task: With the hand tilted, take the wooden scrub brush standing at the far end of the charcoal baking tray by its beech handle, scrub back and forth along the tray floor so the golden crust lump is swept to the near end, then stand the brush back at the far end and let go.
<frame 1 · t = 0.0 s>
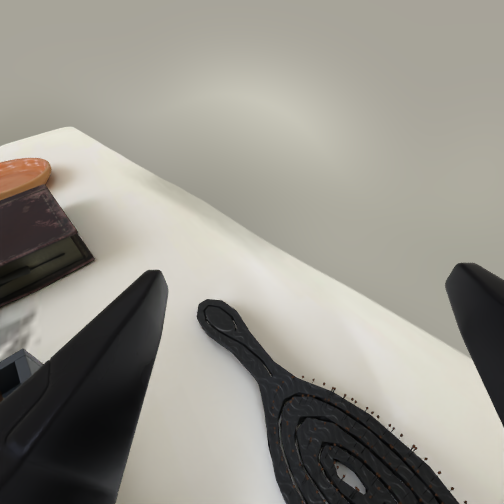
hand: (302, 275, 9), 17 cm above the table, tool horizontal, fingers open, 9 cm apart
hairbrush: (288, 409, 21), on the table
saucer: (10, 191, 51), on the table
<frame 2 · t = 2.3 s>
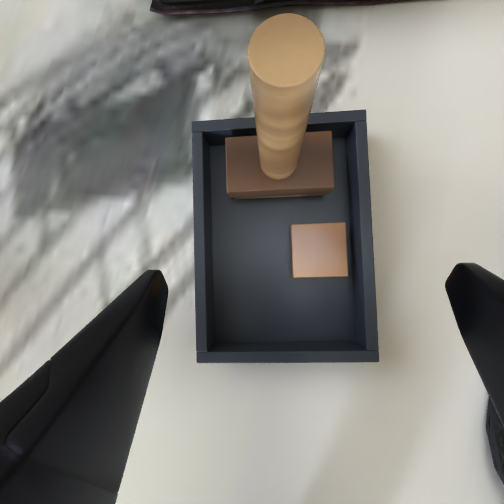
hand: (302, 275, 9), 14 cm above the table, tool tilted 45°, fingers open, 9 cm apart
baking tray: (280, 240, 22), on the table
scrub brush: (277, 175, 22), resting on baking tray
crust: (316, 251, 22), resting on baking tray
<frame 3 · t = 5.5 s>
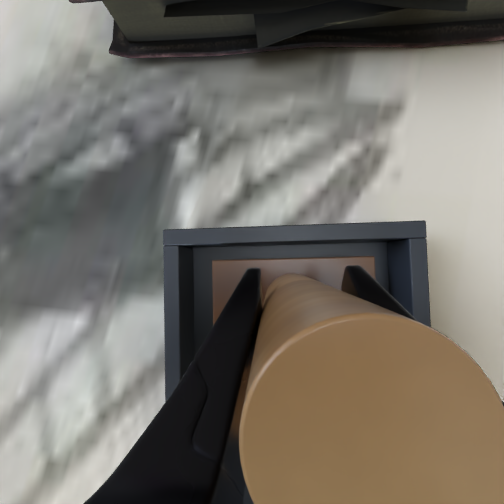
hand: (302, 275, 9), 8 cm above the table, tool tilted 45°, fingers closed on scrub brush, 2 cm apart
baking tray: (291, 383, 16), on the table
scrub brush: (288, 294, 16), resting on baking tray, touching gripper
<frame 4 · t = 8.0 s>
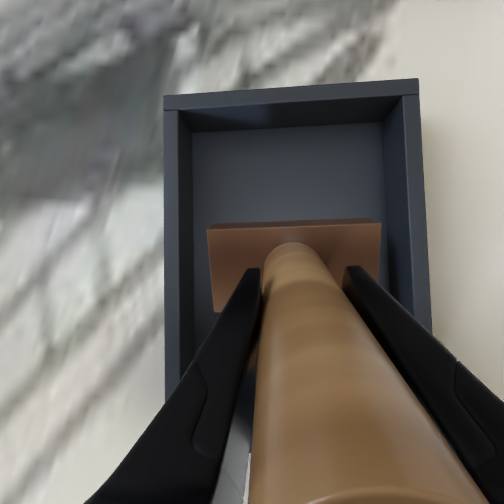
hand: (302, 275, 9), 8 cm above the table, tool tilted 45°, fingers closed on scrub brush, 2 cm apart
baking tray: (288, 264, 16), on the table
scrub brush: (288, 253, 15), point 1 cm above the table, tilted 17°, touching baking tray, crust, gripper
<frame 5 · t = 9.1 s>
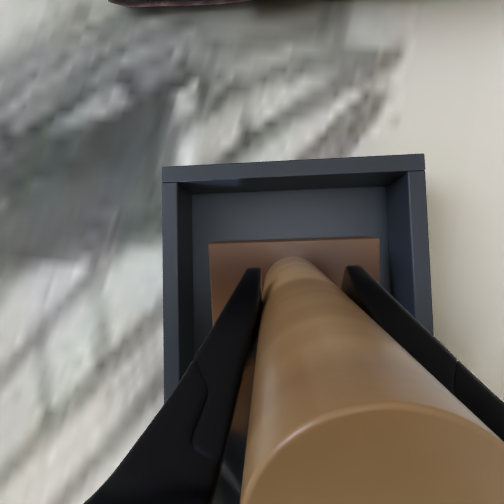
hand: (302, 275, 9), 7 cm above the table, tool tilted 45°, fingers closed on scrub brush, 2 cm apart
baking tray: (290, 329, 16), on the table
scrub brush: (288, 273, 15), point 1 cm above the table, tilted 8°, touching gripper
when the fingers open (8 cm above the table, at t = 12.7 s): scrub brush drops 2 cm, resting on baking tray.
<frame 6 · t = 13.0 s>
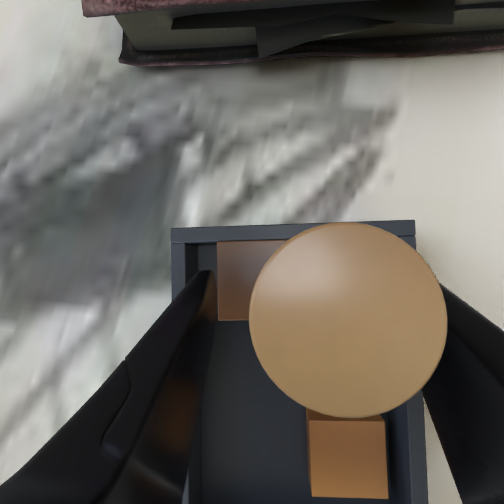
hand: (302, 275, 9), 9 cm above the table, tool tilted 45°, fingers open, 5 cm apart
baking tray: (290, 373, 17), on the table
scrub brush: (288, 276, 17), point 1 cm above the table, touching baking tray
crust: (341, 442, 16), resting on baking tray
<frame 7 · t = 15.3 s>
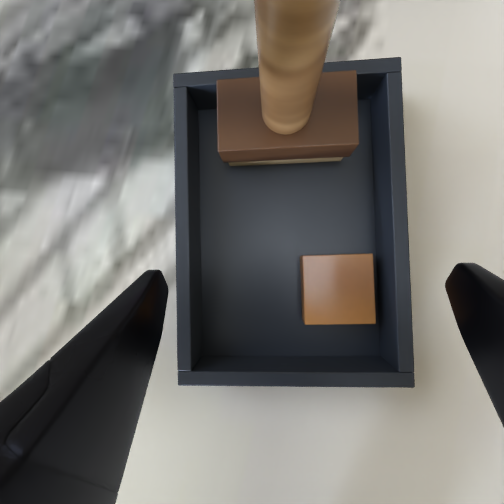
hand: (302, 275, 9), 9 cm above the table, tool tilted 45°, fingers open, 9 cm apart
baking tray: (285, 229, 18), on the table
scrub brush: (283, 136, 18), resting on baking tray
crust: (333, 287, 17), resting on baking tray
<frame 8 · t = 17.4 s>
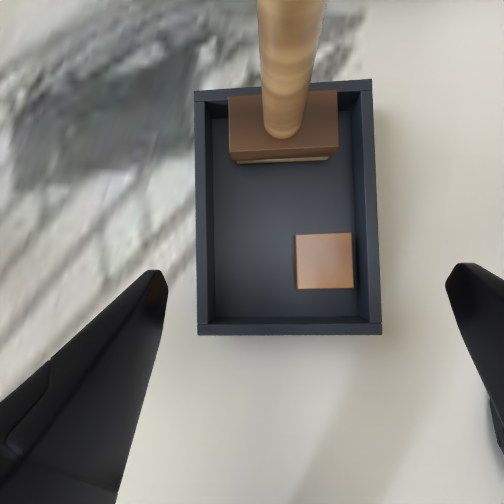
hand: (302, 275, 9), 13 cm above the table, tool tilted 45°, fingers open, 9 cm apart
baking tray: (282, 215, 22), on the table
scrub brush: (281, 140, 22), resting on baking tray
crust: (320, 261, 21), resting on baking tray
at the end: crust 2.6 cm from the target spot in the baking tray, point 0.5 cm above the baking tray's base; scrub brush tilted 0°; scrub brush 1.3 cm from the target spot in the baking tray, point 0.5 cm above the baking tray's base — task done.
